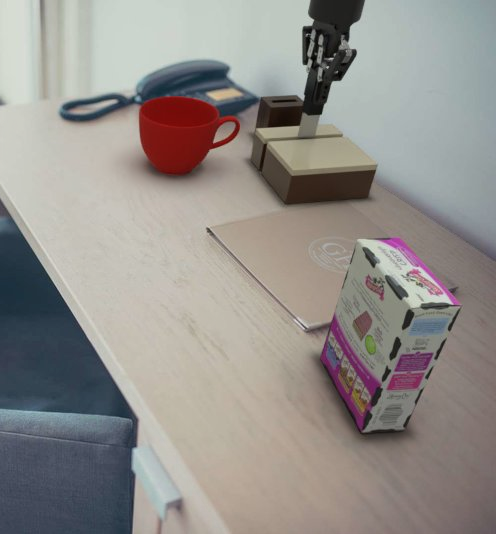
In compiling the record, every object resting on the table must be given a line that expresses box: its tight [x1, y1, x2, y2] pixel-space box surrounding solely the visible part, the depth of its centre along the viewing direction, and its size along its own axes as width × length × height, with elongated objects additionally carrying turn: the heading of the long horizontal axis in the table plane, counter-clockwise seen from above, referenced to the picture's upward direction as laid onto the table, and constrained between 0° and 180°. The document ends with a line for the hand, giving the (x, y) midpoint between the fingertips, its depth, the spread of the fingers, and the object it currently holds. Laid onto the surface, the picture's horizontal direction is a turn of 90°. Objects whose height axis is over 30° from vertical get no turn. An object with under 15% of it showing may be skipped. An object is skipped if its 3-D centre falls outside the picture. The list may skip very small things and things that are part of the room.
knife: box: [297, 67, 328, 140], centre depth 104 cm, size 3×2×14 cm
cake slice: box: [250, 123, 344, 171], centre depth 110 cm, size 14×4×6 cm, turn 100°
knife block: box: [253, 94, 305, 136], centre depth 117 cm, size 7×5×8 cm
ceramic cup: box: [138, 95, 241, 176], centre depth 107 cm, size 13×17×10 cm
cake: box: [261, 136, 379, 205], centre depth 104 cm, size 14×10×6 cm
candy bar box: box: [319, 236, 463, 434], centre depth 64 cm, size 11×5×16 cm, turn 6°
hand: (314, 99), depth 102 cm, fingers closed on knife, 2 cm apart
